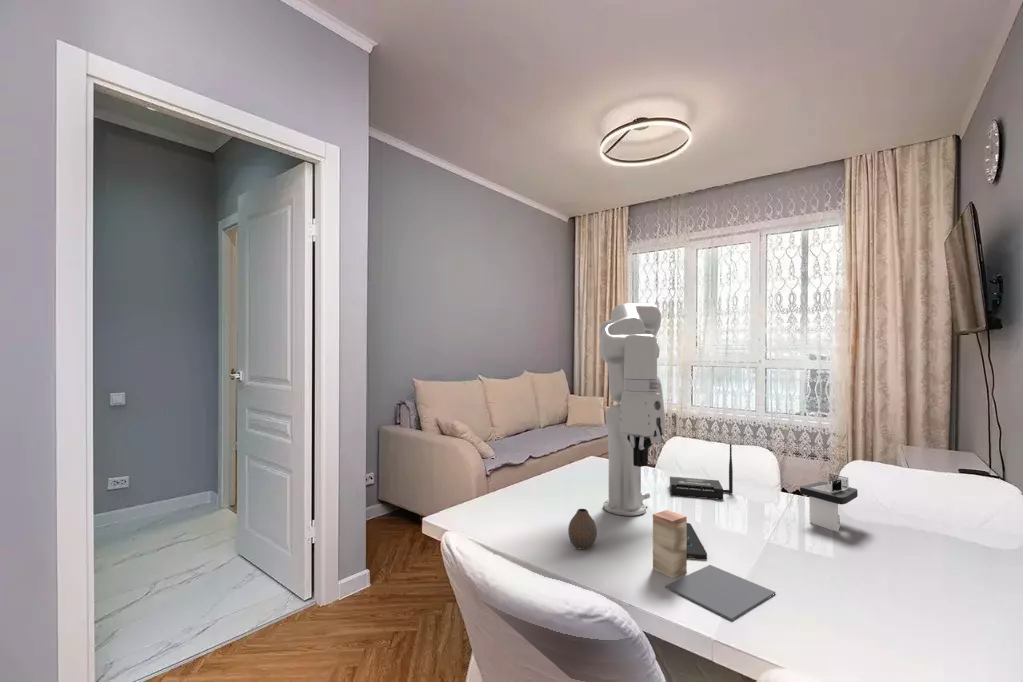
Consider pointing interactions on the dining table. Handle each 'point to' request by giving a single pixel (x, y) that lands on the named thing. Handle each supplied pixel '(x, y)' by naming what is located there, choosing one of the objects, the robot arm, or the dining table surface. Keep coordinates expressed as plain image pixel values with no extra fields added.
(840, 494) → the black-topped pedestal
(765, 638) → the dining table surface
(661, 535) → the maple block
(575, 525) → the vase
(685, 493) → the black wifi router
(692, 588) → the mat
